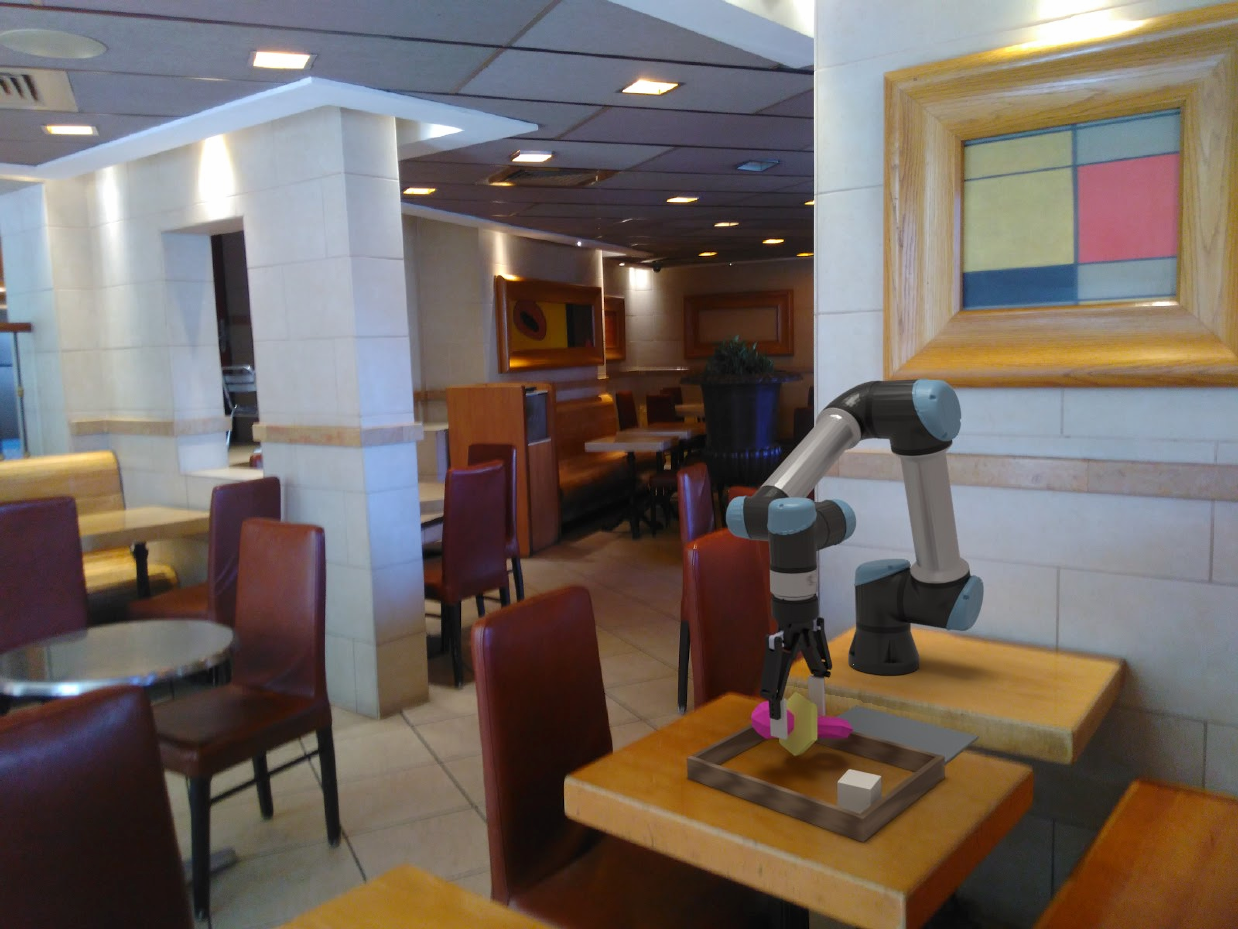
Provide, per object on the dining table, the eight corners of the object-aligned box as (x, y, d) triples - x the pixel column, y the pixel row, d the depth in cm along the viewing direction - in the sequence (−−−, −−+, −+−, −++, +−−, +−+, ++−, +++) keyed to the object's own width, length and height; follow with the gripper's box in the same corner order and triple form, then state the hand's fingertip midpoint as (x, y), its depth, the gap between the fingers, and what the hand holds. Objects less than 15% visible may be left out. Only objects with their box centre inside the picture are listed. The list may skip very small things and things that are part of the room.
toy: (863, 761, 146) (862, 696, 150) (765, 749, 141) (767, 682, 145) (828, 763, 155) (828, 701, 159) (735, 751, 150) (737, 688, 153)
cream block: (837, 814, 135) (837, 782, 134) (849, 800, 139) (849, 769, 138) (870, 822, 132) (870, 789, 131) (881, 807, 136) (881, 776, 136)
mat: (805, 736, 163) (805, 734, 163) (856, 707, 176) (856, 705, 176) (932, 774, 146) (932, 771, 146) (978, 738, 159) (978, 736, 159)
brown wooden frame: (687, 778, 149) (686, 757, 148) (777, 728, 167) (777, 710, 167) (863, 842, 126) (862, 818, 126) (944, 777, 145) (944, 756, 144)
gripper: (772, 614, 135) (777, 756, 137) (851, 582, 151) (855, 708, 154) (732, 607, 140) (738, 743, 143) (812, 576, 156) (816, 699, 159)
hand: (798, 725), depth 148 cm, fingers closed on toy, 10 cm apart
